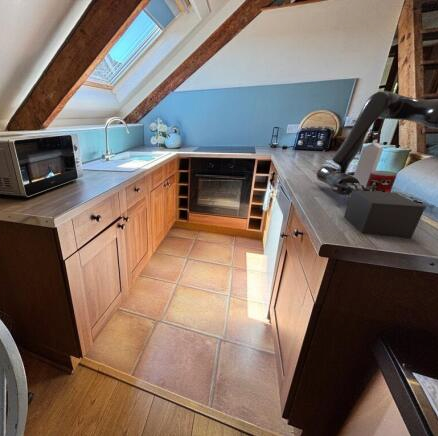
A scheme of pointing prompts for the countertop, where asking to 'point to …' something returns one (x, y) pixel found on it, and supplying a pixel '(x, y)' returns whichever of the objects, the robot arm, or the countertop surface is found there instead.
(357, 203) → the dark grey box
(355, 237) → the countertop surface
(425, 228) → the countertop surface
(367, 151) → the milk
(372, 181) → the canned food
